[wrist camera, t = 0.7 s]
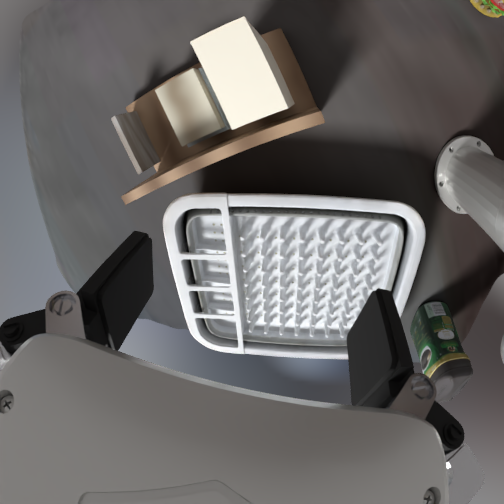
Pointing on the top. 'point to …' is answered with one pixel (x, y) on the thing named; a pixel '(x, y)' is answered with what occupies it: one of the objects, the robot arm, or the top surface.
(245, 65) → the boxed book
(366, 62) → the top surface
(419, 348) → the coffee jar
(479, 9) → the hamburger
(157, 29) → the top surface
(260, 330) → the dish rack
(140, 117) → the shelf
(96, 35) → the top surface
